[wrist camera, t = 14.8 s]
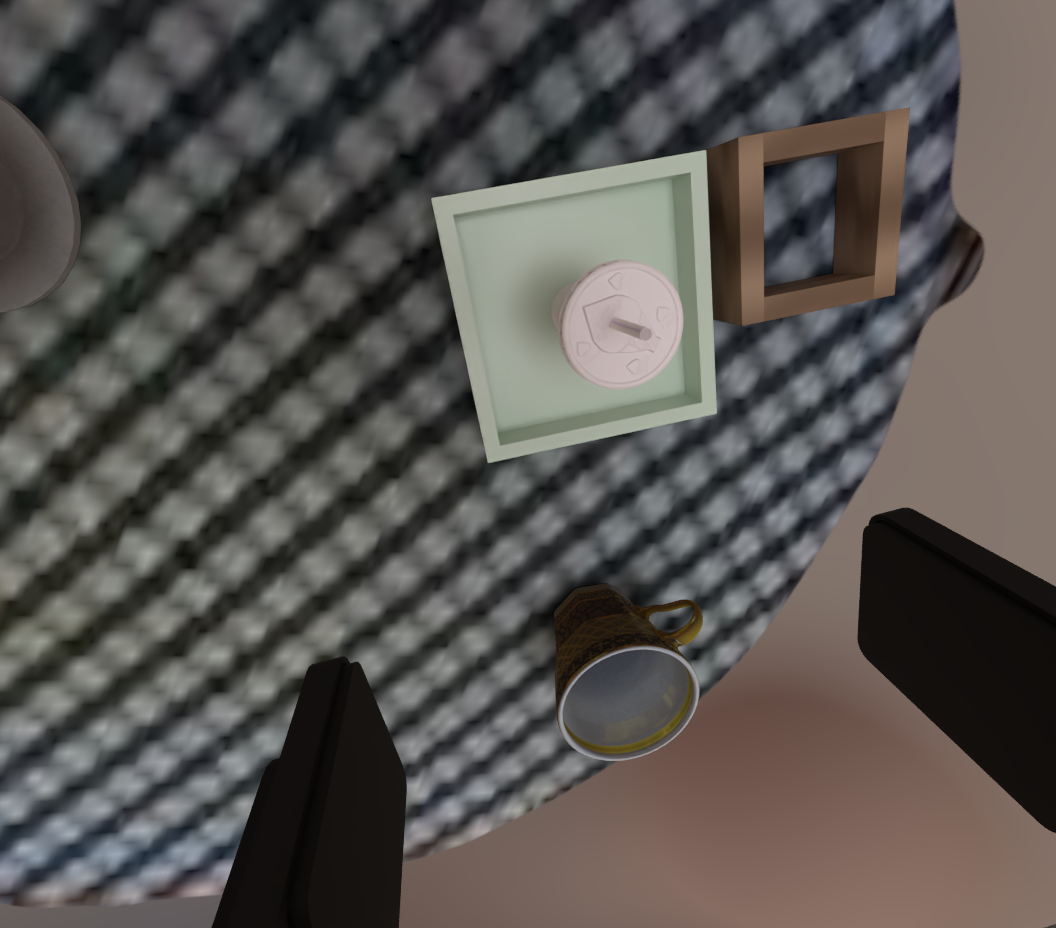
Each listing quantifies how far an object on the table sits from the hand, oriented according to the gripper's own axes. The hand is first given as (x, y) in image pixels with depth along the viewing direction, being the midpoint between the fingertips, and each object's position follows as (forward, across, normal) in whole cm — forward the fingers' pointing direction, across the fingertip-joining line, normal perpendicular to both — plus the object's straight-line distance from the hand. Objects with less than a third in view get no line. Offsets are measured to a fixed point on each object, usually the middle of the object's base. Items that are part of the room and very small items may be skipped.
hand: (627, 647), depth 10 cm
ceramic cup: (+29, -5, +22) cm, 37 cm away
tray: (+29, -6, -2) cm, 30 cm away
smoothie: (+29, -6, -2) cm, 30 cm away
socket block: (+30, -22, -4) cm, 37 cm away
